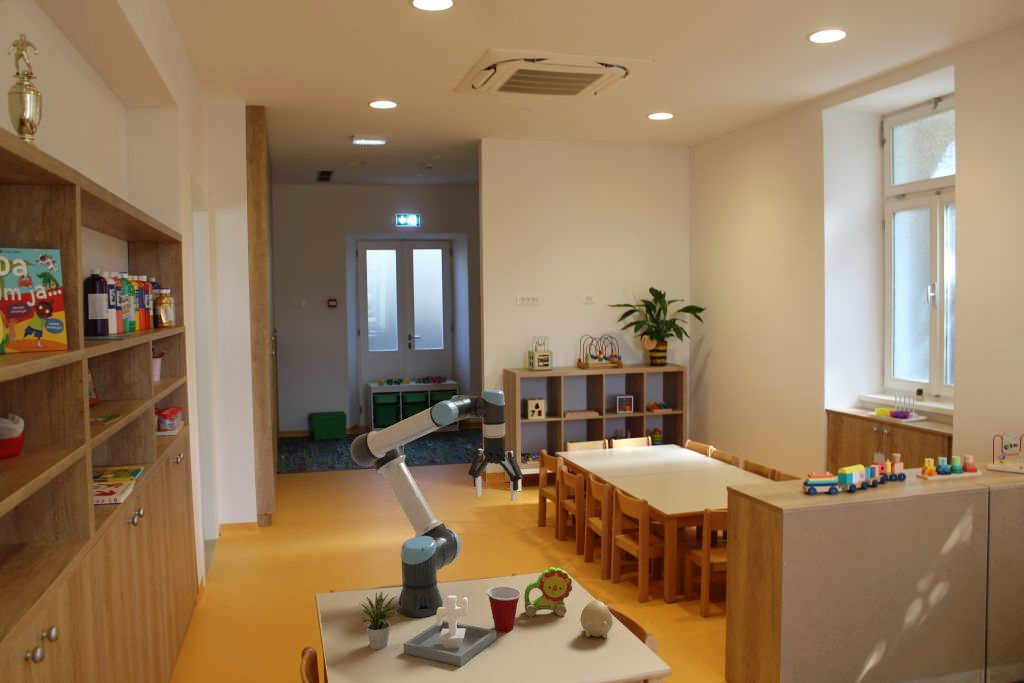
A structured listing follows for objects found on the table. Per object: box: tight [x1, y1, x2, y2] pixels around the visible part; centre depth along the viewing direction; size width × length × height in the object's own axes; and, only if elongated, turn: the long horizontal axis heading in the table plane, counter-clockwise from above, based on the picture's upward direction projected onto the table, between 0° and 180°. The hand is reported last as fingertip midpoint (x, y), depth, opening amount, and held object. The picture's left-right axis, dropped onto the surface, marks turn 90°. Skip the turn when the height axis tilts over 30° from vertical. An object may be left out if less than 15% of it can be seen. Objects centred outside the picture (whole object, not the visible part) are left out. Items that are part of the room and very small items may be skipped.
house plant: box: [359, 591, 399, 650], centre depth 244 cm, size 14×14×16 cm
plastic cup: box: [486, 585, 522, 633], centre depth 256 cm, size 11×11×12 cm
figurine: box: [436, 594, 469, 648], centre depth 242 cm, size 7×9×15 cm
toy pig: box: [579, 599, 614, 639], centre depth 249 cm, size 10×12×11 cm
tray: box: [403, 619, 497, 668], centre depth 243 cm, size 20×20×3 cm
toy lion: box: [523, 566, 573, 618], centre depth 267 cm, size 16×5×15 cm, turn 92°
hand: (496, 498), depth 275 cm, fingers open, 13 cm apart
